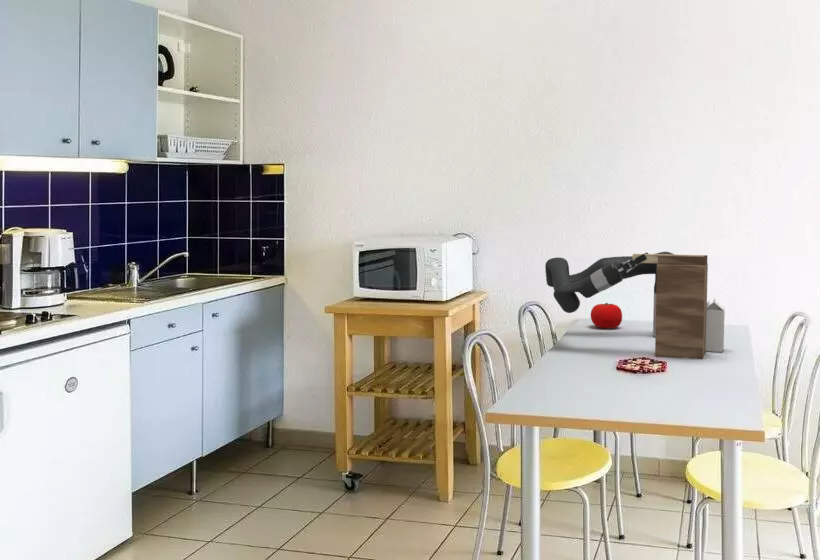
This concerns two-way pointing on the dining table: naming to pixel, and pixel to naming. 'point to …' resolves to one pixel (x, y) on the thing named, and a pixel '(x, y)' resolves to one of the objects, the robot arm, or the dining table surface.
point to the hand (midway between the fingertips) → (647, 255)
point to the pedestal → (681, 306)
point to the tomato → (606, 315)
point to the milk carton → (715, 327)
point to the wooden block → (656, 257)
